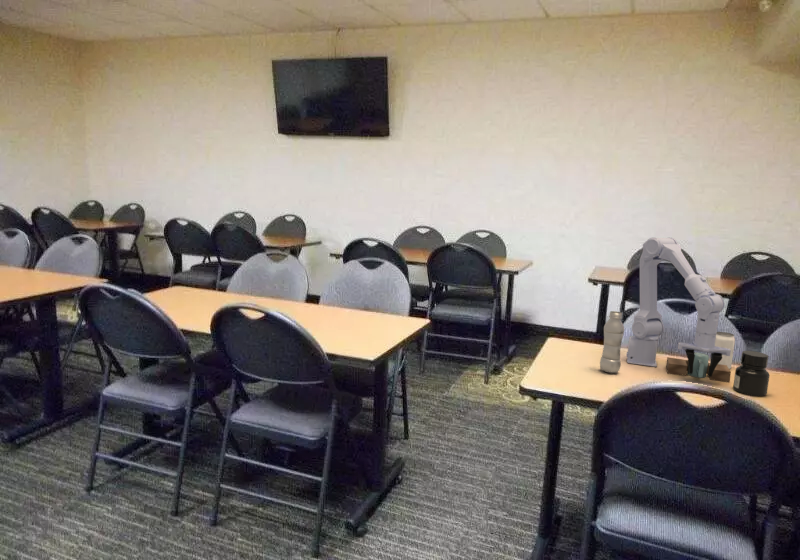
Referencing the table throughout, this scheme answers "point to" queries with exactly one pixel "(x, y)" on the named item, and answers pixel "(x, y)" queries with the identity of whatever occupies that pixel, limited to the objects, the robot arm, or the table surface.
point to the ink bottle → (752, 374)
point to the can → (725, 346)
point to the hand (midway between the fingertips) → (700, 374)
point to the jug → (699, 365)
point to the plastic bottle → (612, 343)
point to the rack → (681, 369)
